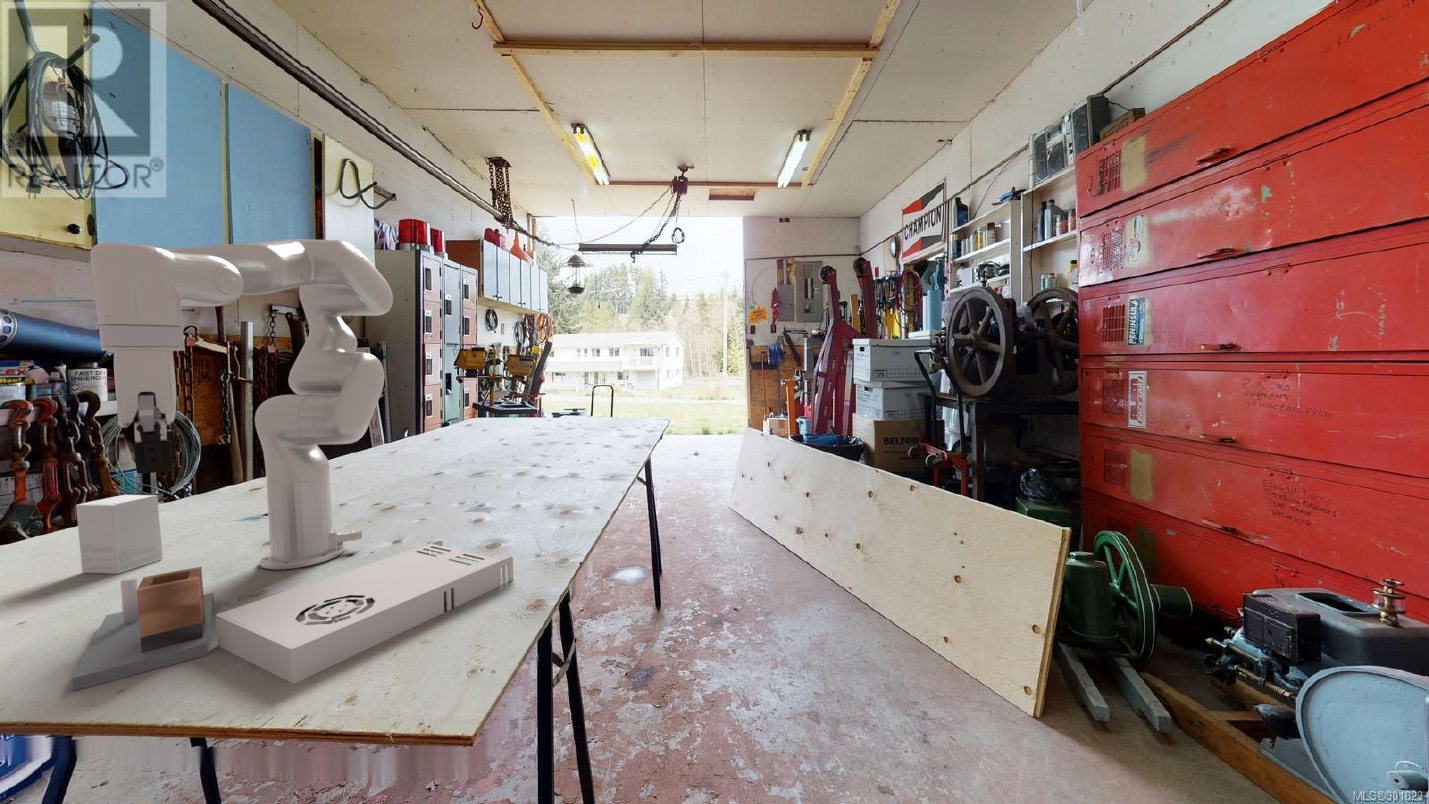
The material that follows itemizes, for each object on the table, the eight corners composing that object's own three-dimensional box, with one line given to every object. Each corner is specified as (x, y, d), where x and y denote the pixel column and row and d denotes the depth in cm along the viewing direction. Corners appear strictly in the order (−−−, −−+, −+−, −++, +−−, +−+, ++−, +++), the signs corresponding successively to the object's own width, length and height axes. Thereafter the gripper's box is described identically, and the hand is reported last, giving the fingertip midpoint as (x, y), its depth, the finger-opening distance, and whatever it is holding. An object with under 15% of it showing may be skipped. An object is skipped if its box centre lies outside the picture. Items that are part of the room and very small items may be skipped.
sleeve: (205, 622, 72) (201, 566, 71) (202, 637, 68) (198, 578, 67) (148, 635, 68) (143, 577, 67) (141, 653, 64) (136, 590, 63)
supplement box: (164, 559, 98) (159, 494, 98) (116, 575, 91) (110, 505, 90) (130, 557, 99) (125, 493, 98) (79, 573, 92) (73, 504, 91)
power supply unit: (513, 583, 90) (513, 555, 90) (293, 690, 60) (291, 649, 60) (442, 564, 98) (441, 539, 98) (217, 650, 69) (214, 614, 68)
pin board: (214, 601, 81) (210, 555, 80) (207, 654, 66) (203, 598, 66) (107, 625, 74) (102, 574, 73) (72, 691, 59) (66, 628, 58)
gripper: (109, 339, 72) (123, 459, 74) (89, 339, 60) (107, 482, 62) (185, 340, 77) (197, 452, 79) (182, 340, 65) (195, 472, 67)
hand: (157, 465), depth 70 cm, fingers open, 9 cm apart
